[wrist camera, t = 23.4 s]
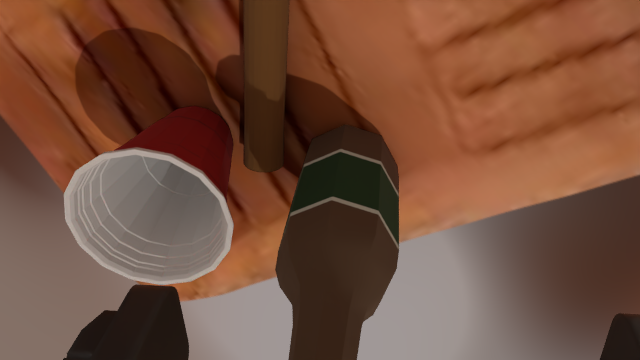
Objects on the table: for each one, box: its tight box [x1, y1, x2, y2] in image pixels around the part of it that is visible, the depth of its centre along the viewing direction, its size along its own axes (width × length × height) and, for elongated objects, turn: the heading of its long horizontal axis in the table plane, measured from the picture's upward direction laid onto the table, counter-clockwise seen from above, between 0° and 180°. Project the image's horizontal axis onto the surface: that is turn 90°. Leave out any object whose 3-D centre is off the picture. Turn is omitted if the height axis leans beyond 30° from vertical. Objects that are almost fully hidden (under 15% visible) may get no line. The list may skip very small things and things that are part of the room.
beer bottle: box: [275, 125, 399, 360], centre depth 36 cm, size 8×8×24 cm
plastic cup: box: [64, 106, 234, 285], centre depth 41 cm, size 11×11×12 cm
